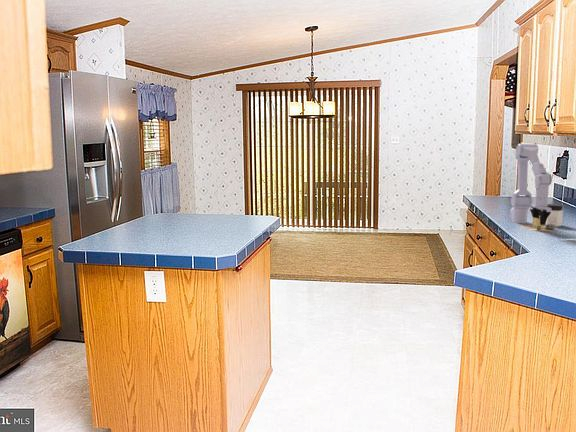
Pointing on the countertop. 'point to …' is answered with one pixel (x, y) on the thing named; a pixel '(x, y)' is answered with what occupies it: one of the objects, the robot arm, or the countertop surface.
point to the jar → (555, 214)
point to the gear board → (536, 228)
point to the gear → (550, 227)
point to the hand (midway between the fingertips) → (539, 223)
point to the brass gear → (537, 221)
